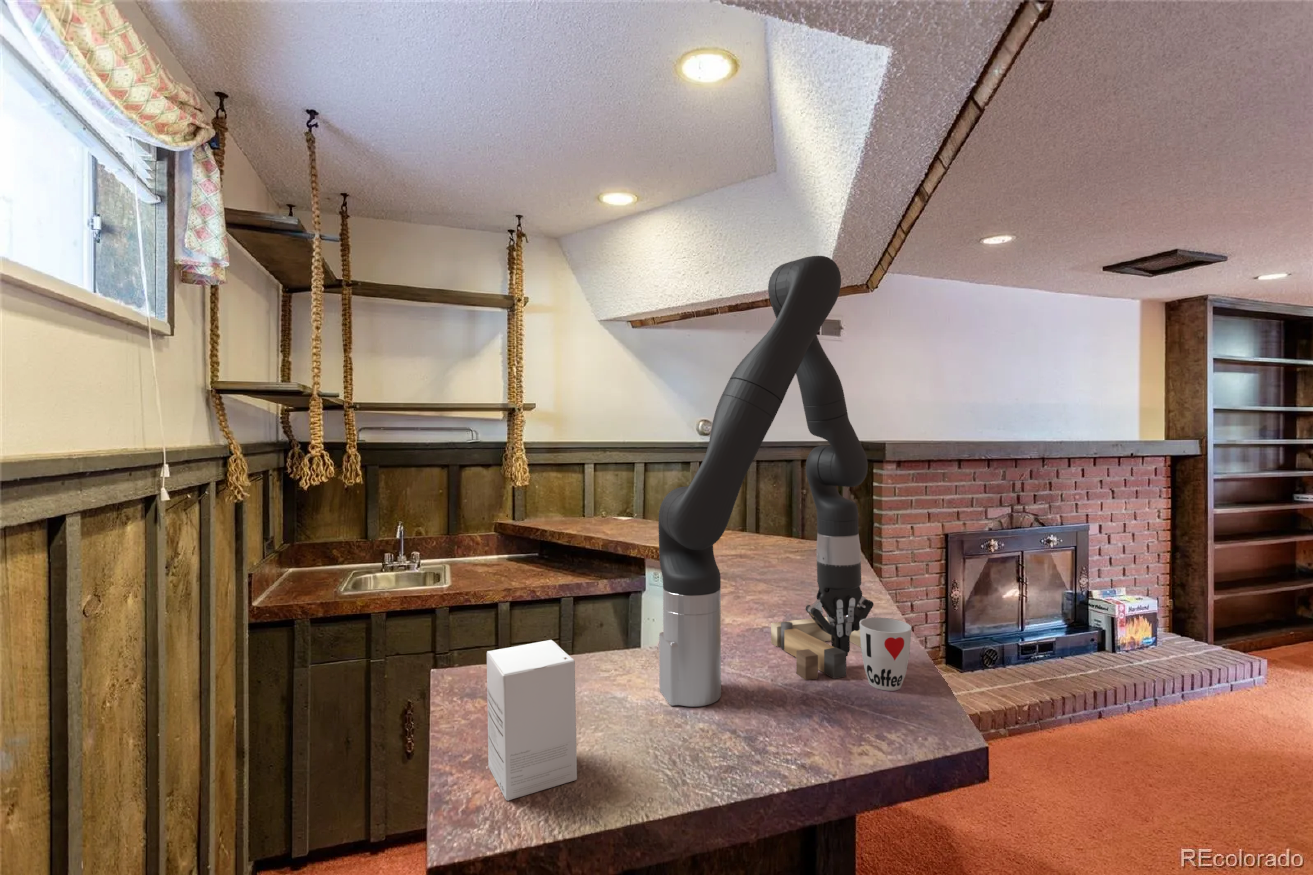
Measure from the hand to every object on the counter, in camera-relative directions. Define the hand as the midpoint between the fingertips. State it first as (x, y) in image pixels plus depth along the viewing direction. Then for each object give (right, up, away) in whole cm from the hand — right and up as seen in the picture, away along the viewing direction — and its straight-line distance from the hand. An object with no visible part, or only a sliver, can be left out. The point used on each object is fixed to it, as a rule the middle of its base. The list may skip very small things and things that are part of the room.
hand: (841, 655), depth 111 cm
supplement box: (-49, -3, -33) cm, 59 cm away
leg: (-5, -2, +3) cm, 6 cm away
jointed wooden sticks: (0, -2, +6) cm, 7 cm away
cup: (+5, -3, -7) cm, 9 cm away
